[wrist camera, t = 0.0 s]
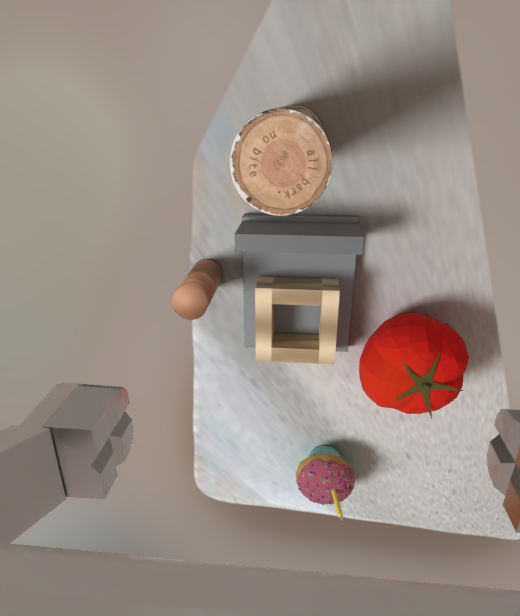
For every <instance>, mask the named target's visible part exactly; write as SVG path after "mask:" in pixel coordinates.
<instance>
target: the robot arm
mask: <svg viewBox="0 0 520 616" xmlns="http://www.w3.org/2000/svg"><path fill="white" fill-rule="evenodd" d="M128 405H129V398H128V393H127V390H126V389H125V388H124V387H115V386H114V387H113V386H101V385H88V384H75V383H74V384H73V383H60V384H57V385H56V386H55V387H54V388H53V389H52V390H51V391H50V392H49V393H48V394H47V395H46V397H45V398H44V399H43V400H42V401H41V402H40V403H39V404H38V405H37V406H36V408H35V409H34V410H33V411H32V412H31V413H30V414H29V415H28V416H27V418H26V419H25V420H24V421H23V422H22V423H21V424H20V425H19V426H10V427H8V428H6V429H4V430H1V431H0V616H520V591H516V590H506V589H495V588H485V587H474V586H463V585H453V584H442V583H431V582H421V581H410V580H399V579H388V578H378V577H368V576H357V575H345V574H335V573H323V572H313V571H301V570H290V569H279V568H269V567H258V566H246V565H235V564H225V563H213V562H203V561H192V560H181V559H169V558H159V557H149V556H138V555H127V554H116V553H105V552H94V551H83V550H73V549H72V550H71V549H62V548H50V547H40V546H29V545H18V544H9V543H11V542H12V541H13V540H15V539H16V538H17V537H18V536H20V535H21V534H22V533H23V532H25V531H26V530H27V529H29V528H30V527H31V526H32V525H34V524H35V523H36V522H37V521H39V520H40V519H41V518H43V517H44V516H45V515H47V514H48V513H49V512H50V511H52V510H53V509H54V508H55V507H57V506H58V505H59V504H61V503H62V502H63V501H64V500H66V497H77V498H97V499H105V498H106V496H107V494H108V492H109V490H110V488H111V486H112V485H113V483H114V481H115V479H116V477H117V471H116V466H117V465H119V464H121V463H122V462H123V461H125V460H126V458H127V456H128V453H129V451H130V447H131V444H132V439H133V425H132V419H131V418H130V417H129V416H128V415H127V413H126V412H125V410H126V408H127V406H128ZM494 425H495V427H496V429H497V431H498V432H499V435H498V436H496V437H495V438H494V439H493V440H491V441H490V444H489V449H488V454H487V460H488V470H489V474H490V478H491V480H492V482H493V485H494V487H495V488H496V489H498V490H499V491H500V492H502V493H503V494H504V495H505V499H504V502H503V506H504V508H505V510H506V512H507V514H508V516H509V518H510V520H511V522H512V524H513V526H514V529H515V531H516V532H520V410H512V409H501V410H500V411H499V413H498V414H497V417H496V420H495V424H494Z"/></svg>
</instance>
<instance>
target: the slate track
mask: <svg viewBox="0 0 520 616" xmlns="http://www.w3.org/2000/svg"><path fill="white" fill-rule="evenodd" d="M363 242H364V236H363V233H362V231H361V228H360V225H359V218H358V216H311V215H284V216H278V215H257V214H244V215H243V216H242V222H241V224H240V226H239V228H238V229H237V231H236V233H235V251H236V252H243V282H244V330H245V347H256V330H255V287H256V283H257V280H258V277H259V276H262V277H294V278H325V279H338V282H339V289H340V296H339V309H338V323H337V337H336V351H345V352H348V344H349V332H350V321H351V309H352V297H353V285H354V274H355V262H356V255H362V253H363ZM319 324H320V306H313V305H286V304H274V333H286V334H309V335H319Z"/></svg>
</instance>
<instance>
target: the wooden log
mask: <svg viewBox="0 0 520 616" xmlns="http://www.w3.org/2000/svg"><path fill="white" fill-rule="evenodd" d="M230 171H231V176H232V179H233V182H234V185H235V187H236V189H237V191H238V192H239V194H240V195H241V196H242V198H243V199H244V200H245V201H246V202H247V203H248V204H250V205H251V206H252V207H254V208H255V209H257V210H259V211H261V212H264V213H266V214H270V215H278V216H284V215H291V214H295V213H298V212H301V211H303V210H305V209H306V208H308V207H309V206H311V205H312V204H313V203H314V202H316V201H317V200H318V198H319V197H320V196H321V195H322V193H323V192H324V190H325V188H326V187H327V184H328V182H329V179H330V176H331V171H332V151H331V146H330V143H329V140H328V138H327V136H326V133H325V131H324V129H323V126H322V124H321V122H320V120H319V119H318V117H317V116H316V115H315V114H314V113H313V112H312V111H311V110H309V109H307V108H305V107H302V106H295V105H293V106H286V107H281V108H276V109H271V110H267V111H264V112H262V113H260V114H258V115H256V116H255V117H253V118H252V119H250V120H249V121H248V122H247V123H246V124H245V125H244V126H243V127H242V129H241V130H240V131H239V133H238V135H237V136H236V138H235V140H234V143H233V146H232V149H231V154H230Z"/></svg>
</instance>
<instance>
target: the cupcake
mask: <svg viewBox="0 0 520 616" xmlns="http://www.w3.org/2000/svg"><path fill="white" fill-rule="evenodd" d="M296 481H297V484H298V487H299V490H300V491H301V492H302V494H303V495H304V496H305V497H307V499H309V500H310V501H313V502H317V503H320V504H322V505H323V504H335V507H336V510H337V514H338V517H341V520H342V521H343V518H342V516H343V514H342V510H341V507H340V503H339V502H340V501H343V500H344V499H346V497H348V495H349V494H351V492H352V490H353V489H354V482H355V476H354V473H353V470H352V468H351V466H350V465H349V464H348V463H347V462H345V461H344V460H343V459H342V458H341V456H340V454H339V452H338V451H337V450H336V449H335V448H333V447H330V446H319V447H316V448H315V449H313V450H312V452H311V453H310V455H309V457H308V458H306V459H305V460H303V461H302V462H301V463H300V464H299V467H298V469H297V472H296Z"/></svg>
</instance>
